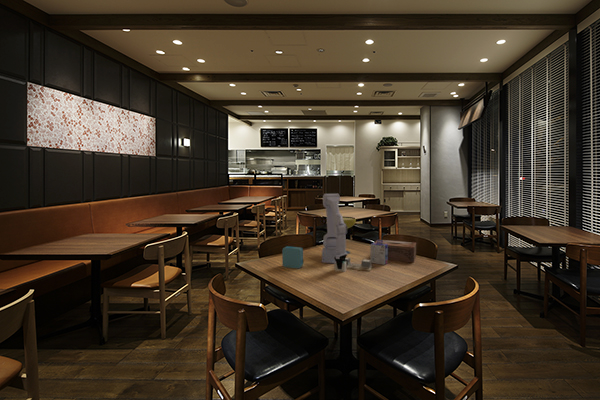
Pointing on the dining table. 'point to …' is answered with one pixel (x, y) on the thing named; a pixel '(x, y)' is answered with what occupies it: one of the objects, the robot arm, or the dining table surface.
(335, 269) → the block
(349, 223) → the cocktail glass
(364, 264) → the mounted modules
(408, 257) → the tissue box cover
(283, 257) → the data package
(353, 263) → the din rail
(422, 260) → the dining table surface
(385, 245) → the ink cartridge box
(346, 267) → the rail board
